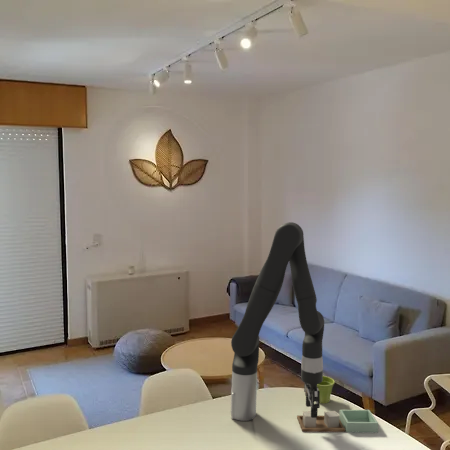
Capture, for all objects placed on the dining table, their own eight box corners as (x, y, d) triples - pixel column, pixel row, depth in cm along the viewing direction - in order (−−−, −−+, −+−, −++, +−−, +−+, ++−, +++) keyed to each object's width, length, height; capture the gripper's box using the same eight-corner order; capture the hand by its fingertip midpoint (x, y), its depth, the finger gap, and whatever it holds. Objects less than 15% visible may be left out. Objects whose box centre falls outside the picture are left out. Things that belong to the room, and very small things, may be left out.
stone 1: (304, 427, 181) (305, 416, 181) (302, 421, 185) (303, 411, 185) (316, 427, 181) (316, 416, 181) (313, 421, 185) (314, 411, 185)
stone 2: (328, 427, 181) (328, 416, 181) (323, 422, 185) (324, 411, 185) (339, 426, 182) (339, 416, 182) (334, 421, 186) (334, 410, 186)
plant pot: (335, 407, 199) (336, 385, 198) (311, 406, 199) (312, 384, 198) (331, 396, 208) (332, 376, 207) (307, 396, 208) (308, 375, 207)
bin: (346, 433, 178) (347, 422, 178) (339, 420, 188) (339, 409, 188) (377, 433, 179) (378, 422, 178) (368, 420, 189) (369, 409, 188)
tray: (302, 433, 178) (302, 429, 178) (297, 419, 188) (297, 415, 188) (344, 433, 179) (344, 429, 179) (337, 419, 189) (337, 415, 189)
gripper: (297, 360, 188) (297, 403, 190) (305, 375, 174) (305, 421, 176) (317, 360, 189) (317, 402, 190) (327, 375, 174) (326, 420, 176)
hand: (311, 411), depth 183 cm, fingers open, 8 cm apart
